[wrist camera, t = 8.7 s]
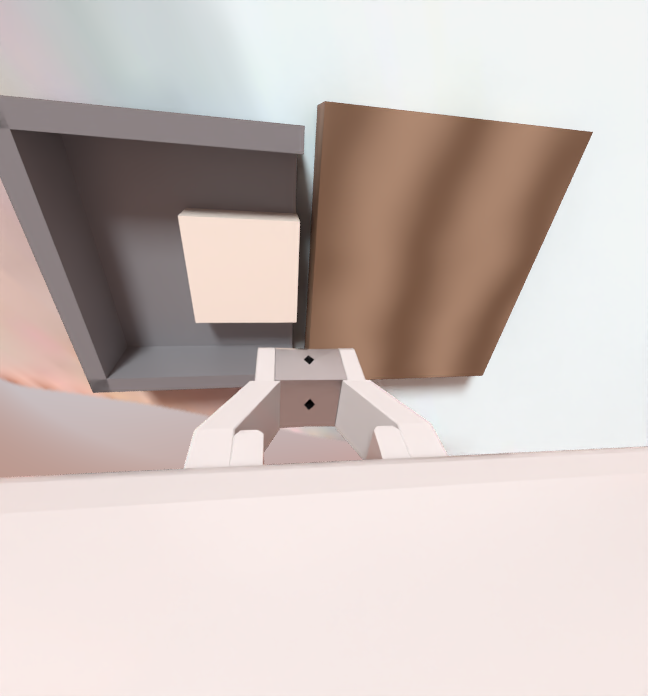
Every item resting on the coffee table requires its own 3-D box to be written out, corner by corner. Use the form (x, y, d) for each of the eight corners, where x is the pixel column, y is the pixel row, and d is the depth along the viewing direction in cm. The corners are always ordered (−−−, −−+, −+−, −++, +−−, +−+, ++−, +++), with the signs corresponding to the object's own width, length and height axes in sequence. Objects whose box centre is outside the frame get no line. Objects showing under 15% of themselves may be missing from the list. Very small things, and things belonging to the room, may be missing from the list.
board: (556, 132, 18) (592, 132, 16) (466, 357, 27) (482, 375, 25) (317, 105, 16) (324, 101, 14) (303, 361, 25) (307, 381, 23)
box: (296, 127, 16) (304, 125, 13) (291, 351, 24) (295, 385, 21) (32, 101, 14) (-37, 91, 11) (118, 354, 22) (93, 392, 19)
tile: (296, 213, 18) (300, 221, 16) (294, 308, 21) (296, 322, 20) (186, 207, 17) (177, 215, 15) (201, 307, 20) (195, 322, 19)
